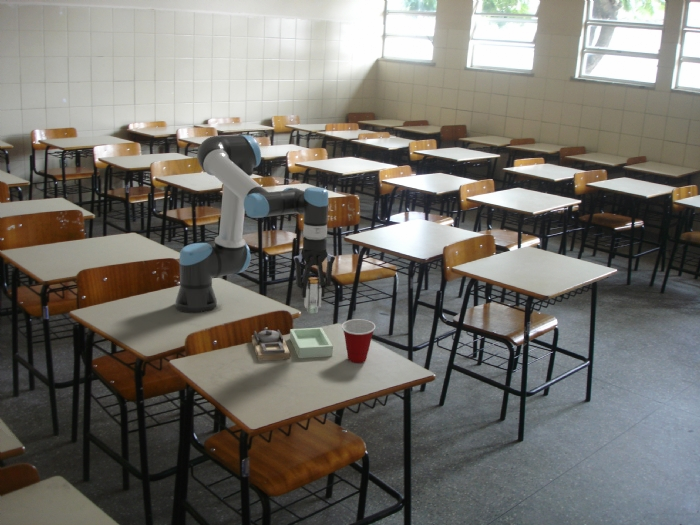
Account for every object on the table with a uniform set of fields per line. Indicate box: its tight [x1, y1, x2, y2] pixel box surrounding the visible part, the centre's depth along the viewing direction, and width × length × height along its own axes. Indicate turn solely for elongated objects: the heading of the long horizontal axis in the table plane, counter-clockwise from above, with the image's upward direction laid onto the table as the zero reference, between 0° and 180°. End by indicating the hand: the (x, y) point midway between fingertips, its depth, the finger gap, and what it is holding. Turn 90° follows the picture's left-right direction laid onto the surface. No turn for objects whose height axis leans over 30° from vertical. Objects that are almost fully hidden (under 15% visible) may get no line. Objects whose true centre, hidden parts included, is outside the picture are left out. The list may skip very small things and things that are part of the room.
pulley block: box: [251, 329, 291, 362], centre depth 231 cm, size 16×10×5 cm, turn 15°
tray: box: [289, 327, 334, 359], centre depth 235 cm, size 16×11×4 cm
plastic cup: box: [341, 318, 376, 364], centre depth 226 cm, size 11×11×12 cm
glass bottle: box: [306, 276, 320, 314], centre depth 230 cm, size 4×4×11 cm
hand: (312, 306), depth 231 cm, fingers closed on glass bottle, 3 cm apart
